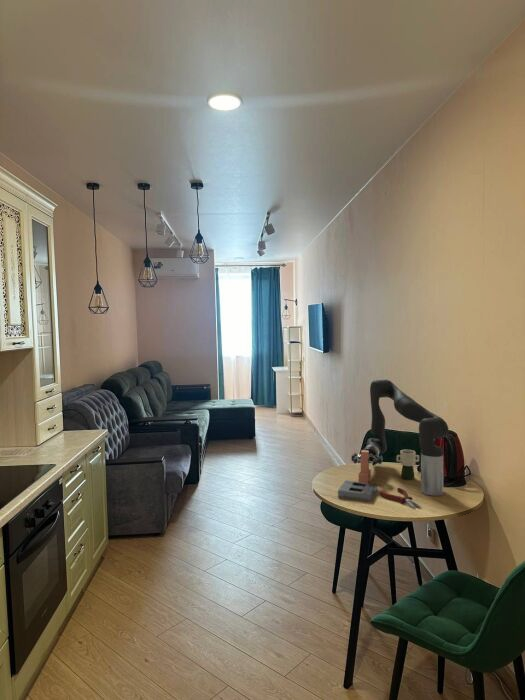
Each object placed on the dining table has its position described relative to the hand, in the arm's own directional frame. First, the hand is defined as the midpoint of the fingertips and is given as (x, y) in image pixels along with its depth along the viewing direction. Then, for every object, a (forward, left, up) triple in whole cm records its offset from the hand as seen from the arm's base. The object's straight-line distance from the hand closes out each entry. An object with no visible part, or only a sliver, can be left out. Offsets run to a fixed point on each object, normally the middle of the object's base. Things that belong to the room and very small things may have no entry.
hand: (364, 462), depth 216 cm
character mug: (-18, -16, -10) cm, 26 cm away
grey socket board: (0, +14, -10) cm, 17 cm away
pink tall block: (0, -2, -10) cm, 10 cm away
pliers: (-18, +15, -11) cm, 26 cm away
